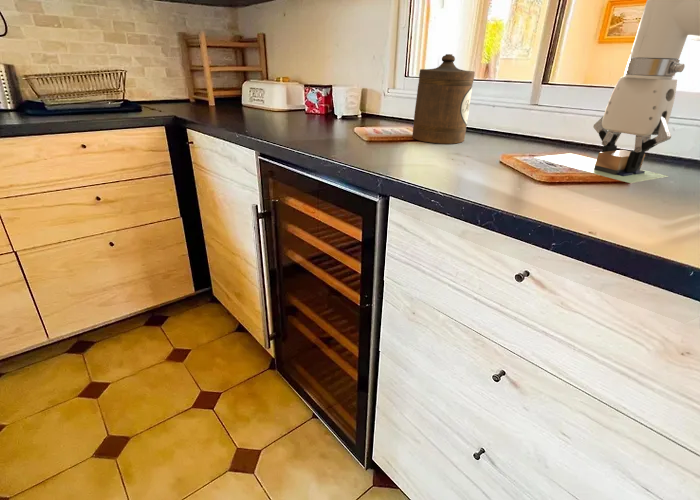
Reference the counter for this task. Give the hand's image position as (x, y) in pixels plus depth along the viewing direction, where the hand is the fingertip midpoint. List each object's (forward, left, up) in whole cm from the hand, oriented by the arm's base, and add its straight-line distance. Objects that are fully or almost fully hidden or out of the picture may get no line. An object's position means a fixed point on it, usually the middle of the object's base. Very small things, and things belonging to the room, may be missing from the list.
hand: (617, 167), depth 81 cm
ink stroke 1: (-3, +2, -1) cm, 4 cm away
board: (+4, 0, -2) cm, 5 cm away
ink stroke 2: (-3, -2, -1) cm, 4 cm away
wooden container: (+46, +9, -2) cm, 47 cm away
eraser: (0, 0, -1) cm, 1 cm away
